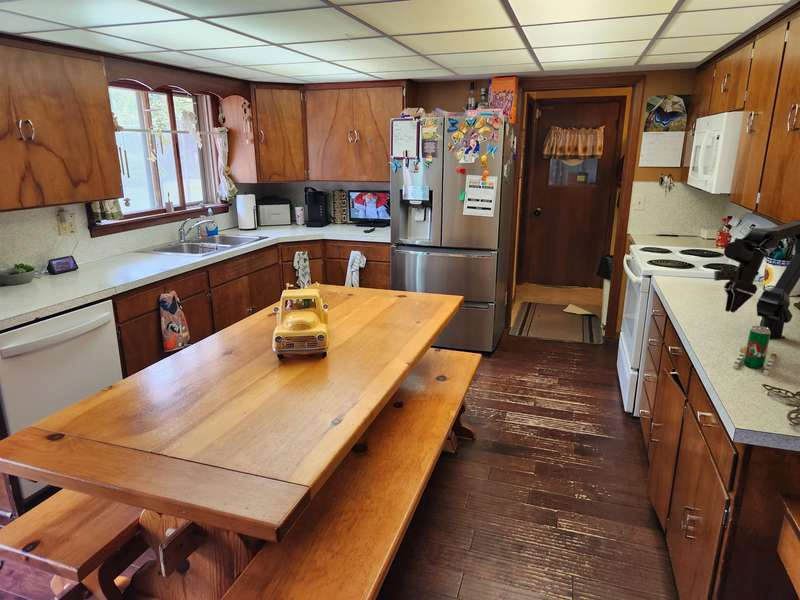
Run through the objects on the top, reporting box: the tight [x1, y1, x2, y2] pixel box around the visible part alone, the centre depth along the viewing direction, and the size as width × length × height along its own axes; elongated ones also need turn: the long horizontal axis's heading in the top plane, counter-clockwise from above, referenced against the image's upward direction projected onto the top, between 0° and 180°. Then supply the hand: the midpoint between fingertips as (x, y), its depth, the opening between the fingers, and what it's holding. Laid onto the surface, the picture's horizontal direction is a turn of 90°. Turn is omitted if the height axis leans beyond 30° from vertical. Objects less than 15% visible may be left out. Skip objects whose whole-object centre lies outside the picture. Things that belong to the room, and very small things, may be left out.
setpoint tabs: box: [739, 347, 778, 361], centre depth 163 cm, size 2×10×1 cm, turn 49°
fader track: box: [732, 345, 778, 377], centre depth 160 cm, size 20×8×2 cm, turn 139°
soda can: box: [743, 325, 771, 370], centre depth 156 cm, size 5×5×12 cm
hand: (729, 311), depth 174 cm, fingers open, 9 cm apart
